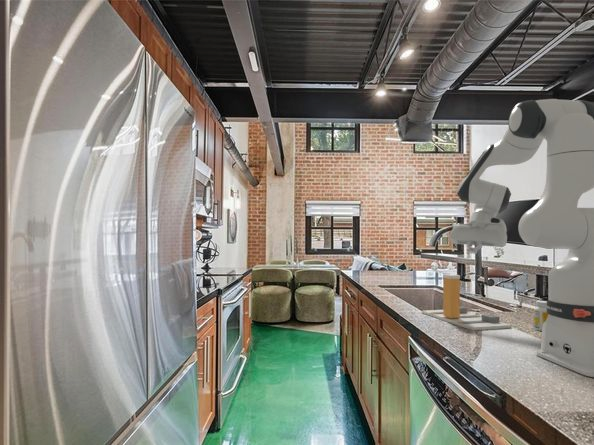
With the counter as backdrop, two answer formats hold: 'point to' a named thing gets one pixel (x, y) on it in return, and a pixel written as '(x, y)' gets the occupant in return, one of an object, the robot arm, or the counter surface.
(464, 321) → the panel
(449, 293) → the glass of beer
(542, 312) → the supplement bottle
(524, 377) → the counter surface
